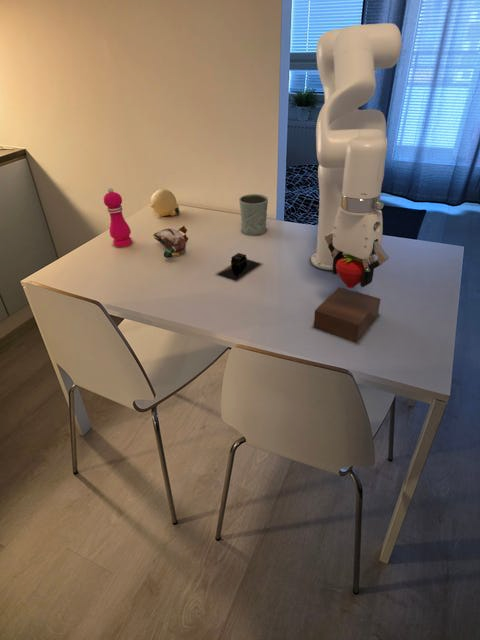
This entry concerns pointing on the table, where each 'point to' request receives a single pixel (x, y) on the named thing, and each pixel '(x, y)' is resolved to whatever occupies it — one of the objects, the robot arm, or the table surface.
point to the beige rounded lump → (164, 203)
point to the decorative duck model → (172, 241)
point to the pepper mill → (117, 220)
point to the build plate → (238, 267)
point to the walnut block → (346, 313)
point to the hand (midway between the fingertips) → (351, 277)
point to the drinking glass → (253, 213)
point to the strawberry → (350, 270)
